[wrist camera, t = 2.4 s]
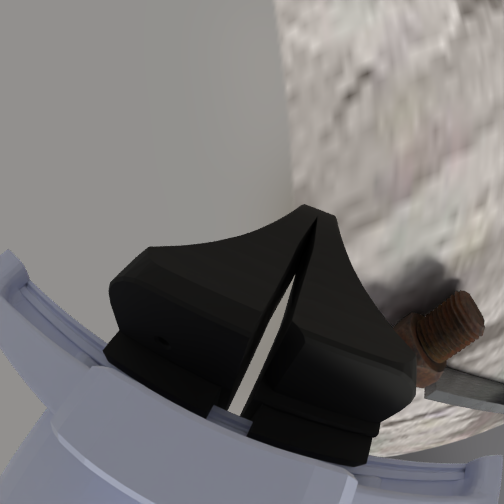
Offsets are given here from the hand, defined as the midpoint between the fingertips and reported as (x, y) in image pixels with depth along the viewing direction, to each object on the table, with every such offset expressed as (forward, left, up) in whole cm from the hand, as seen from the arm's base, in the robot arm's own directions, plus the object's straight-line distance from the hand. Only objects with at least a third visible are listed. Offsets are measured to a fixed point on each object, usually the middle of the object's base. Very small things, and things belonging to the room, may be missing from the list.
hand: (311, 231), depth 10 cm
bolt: (-1, -11, -2) cm, 11 cm away
